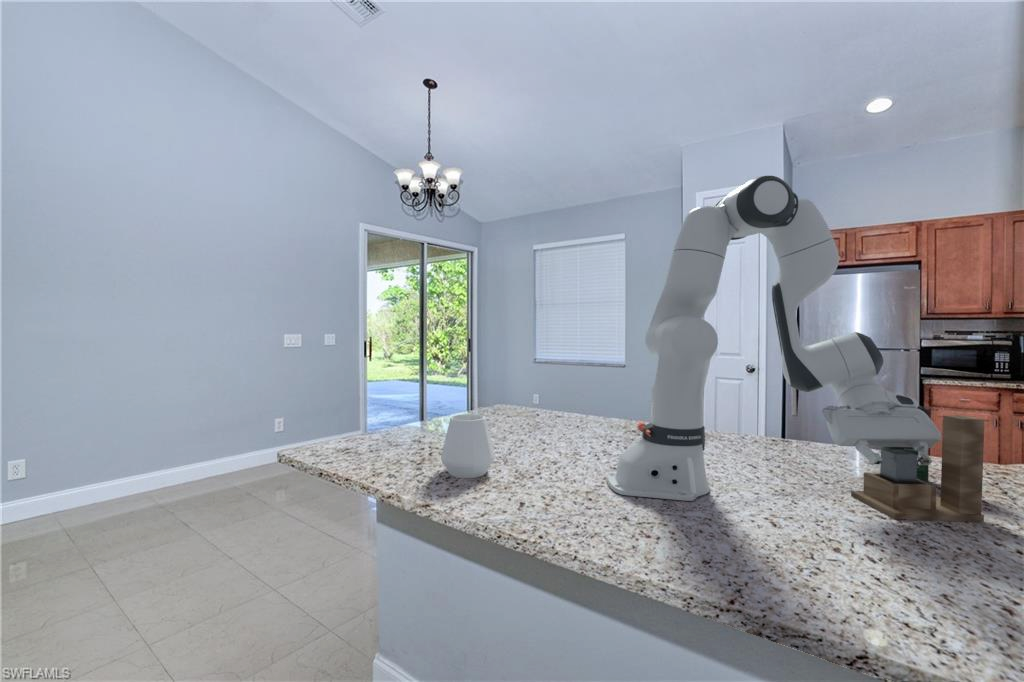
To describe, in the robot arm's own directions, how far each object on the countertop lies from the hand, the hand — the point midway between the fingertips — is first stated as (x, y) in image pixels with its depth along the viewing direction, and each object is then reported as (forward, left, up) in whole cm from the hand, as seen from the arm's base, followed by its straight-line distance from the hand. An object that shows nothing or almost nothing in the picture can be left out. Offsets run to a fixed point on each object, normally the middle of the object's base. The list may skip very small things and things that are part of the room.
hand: (901, 463), depth 91 cm
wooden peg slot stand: (+3, 0, -9) cm, 9 cm away
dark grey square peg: (0, +1, -8) cm, 8 cm away
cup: (-90, +17, -9) cm, 93 cm away
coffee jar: (+16, +19, -9) cm, 26 cm away
